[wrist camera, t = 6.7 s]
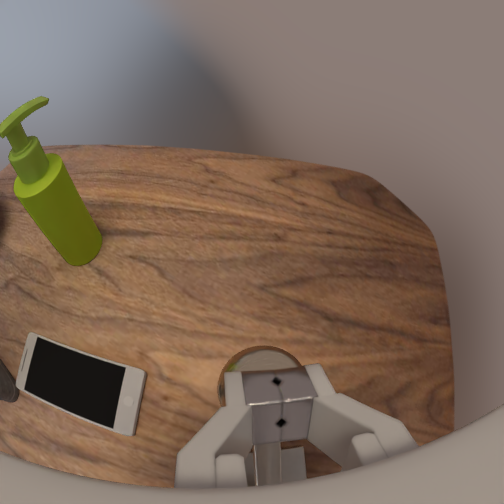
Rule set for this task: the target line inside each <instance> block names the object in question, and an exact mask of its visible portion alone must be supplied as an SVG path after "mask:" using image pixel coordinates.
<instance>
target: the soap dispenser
mask: <svg viewBox="0 0 504 504" xmlns="http://www.w3.org/2000/svg"><path fill="white" fill-rule="evenodd" d="M48 101H49V99H48V98H46V97H42V96H40V97H37V98H35V99H33V100H31V101H29V102H27V103H25V104H23V105H22V106H20V107H19V108H18V109H16V110H15V111H14V112H13V113H11V114H10V115H9V116H8V117H7V118H6V119H5V120H4V121H3V122H2V123H1V124H0V137H2V138H4V137H5V136H7V138H8V140H9V142H10V144H11V146H12V150H11V151H10V153H9V157H8V158H9V161H10V163H11V165H12V166H13V168H14V170H15V171H16V173H17V175H18V176H17V178H16V180H15V182H14V193H15V195H16V196H17V198H18V199H19V201H20V202H21V203H22V205H23V206H24V208H25V209H26V210H27V212H28V213H29V215H30V216H31V217H32V219H33V220H34V221H35V223H36V224H37V225H38V227H39V228H40V229H41V231H42V232H43V233H44V235H45V236H46V237H47V238H48V240H49V241H50V242H51V243H52V245H53V246H54V247H55V248H56V250H57V251H58V252H59V253H60V254H61V256H62V257H63V258H64V259H65V260H66V262H67V263H69V264H71V265H74V266H80V265H84V264H86V263H88V262H90V261H91V260H92V259H93V258H95V256H96V255H97V254H98V252H99V250H100V248H101V245H102V236H101V234H100V232H99V230H98V228H97V226H96V225H95V223H94V221H93V219H92V218H91V216H90V214H89V212H88V210H87V208H86V207H85V205H84V203H83V201H82V199H81V197H80V195H79V193H78V192H77V190H76V188H75V186H74V184H73V182H72V180H71V178H70V176H69V174H68V172H67V170H66V168H65V165H64V163H63V161H62V159H61V157H60V156H59V155H57V154H53V153H49V154H45V153H44V151H43V149H42V146H41V145H40V142H39V140H38V138H37V137H35V136H29V137H27V136H26V134H25V132H24V129H23V127H22V125H21V123H20V122H21V121H23V120H24V119H25V118H26V117H27V116H29V115H30V114H31V113H32V112H34V111H35V110H37V109H39V108H41V107H43V106H45V105H47V104H48Z"/></svg>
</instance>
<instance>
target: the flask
mask: <svg viewBox="0 0 504 504" xmlns="http://www.w3.org/2000/svg"><path fill="white" fill-rule="evenodd" d="M15 384H16V382H15V380H14V379H13V377H12V375H11V374H10V372H9V371H8V369H7V368H6V366H5V365H4V364H3V362H2V361H1V359H0V400H4V401H8V402H15V401H16V400H17V398H18V395H19V389H18V388H17V387H16V385H15Z"/></svg>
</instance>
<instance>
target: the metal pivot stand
mask: <svg viewBox="0 0 504 504" xmlns="http://www.w3.org/2000/svg"><path fill="white" fill-rule="evenodd" d="M244 464H245V471H246V478H247V485H248V487H250V486H255V476H254V462H253V451H252V452H250V453H249V454H248V456H247V458H246V459H245V461H244ZM281 479H282V483H285V482H292V481H298V480H304V479H307V475H306V465H305V455H304V447H303V446H294V447H287V448H281Z"/></svg>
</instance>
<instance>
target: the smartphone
mask: <svg viewBox="0 0 504 504" xmlns="http://www.w3.org/2000/svg"><path fill="white" fill-rule="evenodd" d="M146 375H147V373H146V372H145V371H143V370H141V369H139V368H135V367H131V366H128V365H124V364H121V363H117V362H114V361H111V360H108V359H104V358H101V357H98V356H95V355H92V354H89V353H86V352H83V351H80V350H77V349H74V348H72V347H69V346H66V345H64V344H61V343H58V342H56V341H53V340H50V339H48V338H45V337H43V336H40V335H38V334H36V333H33V332H29V334H28V337H27V340H26V344H25V347H24V351H23V355H22V359H21V363H20V367H19V371H18V375H17V379H16V384H15V385H16V387H17V388H18V389H20V390H22V391H23V392H25V393H27V394H29V395H31V396H33V397H35V398H37V399H39V400H41V401H42V402H44V403H47V404H49V405H51V406H53V407H55V408H57V409H59V410H61V411H63V412H66V413H68V414H70V415H73V416H75V417H77V418H80V419H82V420H84V421H87V422H89V423H92V424H95V425H97V426H100V427H102V428H105V429H108V430H111V431H114V432H116V433H119V434H122V435H125V436H133V435H135V430H136V424H137V419H138V414H139V409H140V404H141V399H142V394H143V389H144V384H145V380H146Z"/></svg>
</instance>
